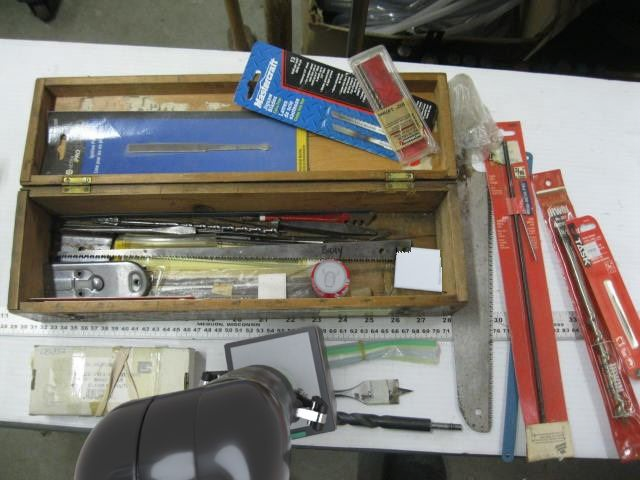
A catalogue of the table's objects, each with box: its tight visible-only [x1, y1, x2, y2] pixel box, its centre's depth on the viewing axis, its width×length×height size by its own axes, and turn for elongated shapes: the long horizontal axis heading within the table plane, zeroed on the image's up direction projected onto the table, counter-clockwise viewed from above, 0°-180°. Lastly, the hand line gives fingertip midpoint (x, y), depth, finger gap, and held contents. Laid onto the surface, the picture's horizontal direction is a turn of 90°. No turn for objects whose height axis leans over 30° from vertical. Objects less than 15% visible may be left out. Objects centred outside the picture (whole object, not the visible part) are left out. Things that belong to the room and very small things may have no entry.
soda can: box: [310, 258, 351, 299], centre depth 84 cm, size 7×7×12 cm
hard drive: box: [393, 246, 443, 293], centre depth 89 cm, size 2×8×12 cm
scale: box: [223, 325, 336, 441], centre depth 61 cm, size 14×13×3 cm
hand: (274, 390), depth 56 cm, fingers closed on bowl, 5 cm apart
